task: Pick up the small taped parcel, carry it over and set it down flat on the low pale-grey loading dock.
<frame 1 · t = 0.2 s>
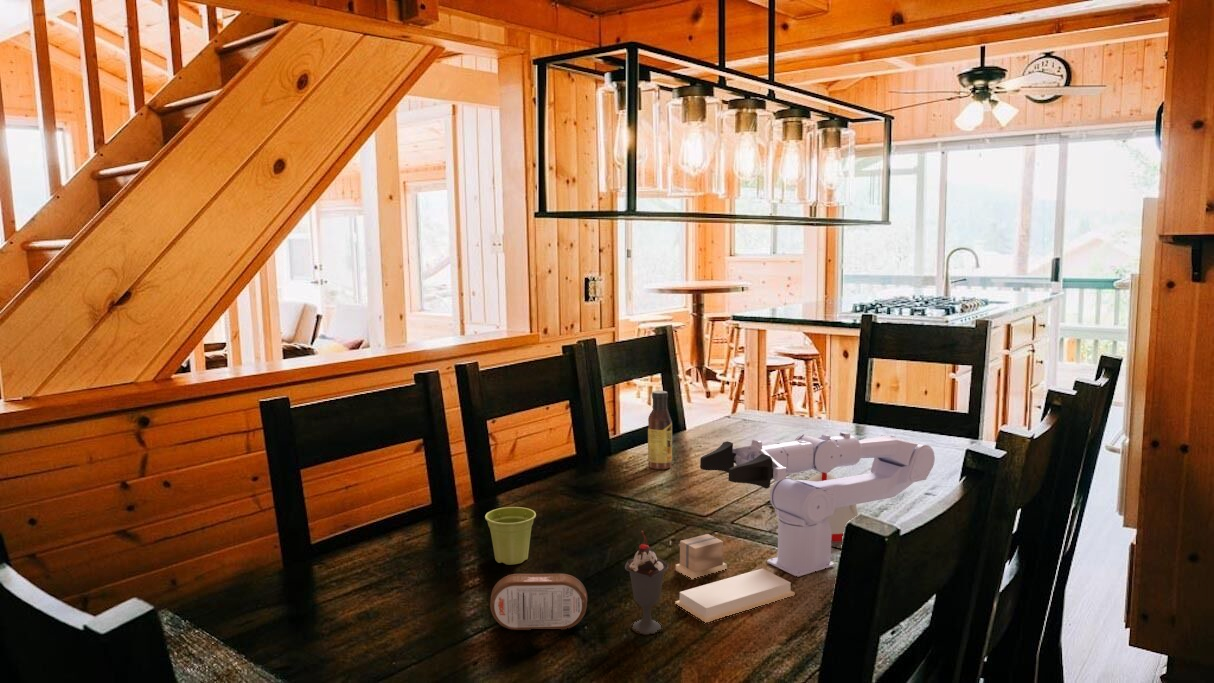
hand: (715, 469, 140), 21 cm above the table, tool horizontal, fingers open, 7 cm apart
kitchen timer: (822, 530, 171), on the table
tin: (539, 628, 129), on the table
taped parcel: (701, 570, 151), on the table
sundae: (646, 628, 129), on the table
sauce bottle: (659, 467, 216), on the table
dock: (735, 600, 138), on the table
plant pot: (511, 560, 156), on the table
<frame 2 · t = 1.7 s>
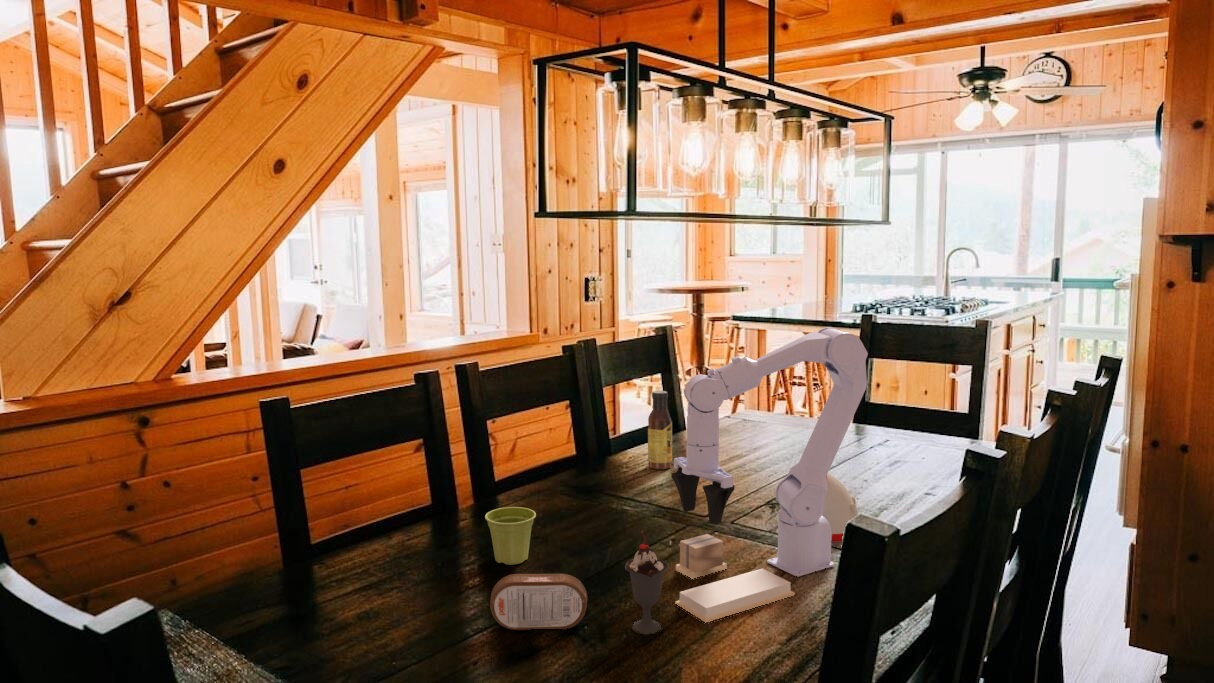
hand: (701, 516, 149), 10 cm above the table, tool pointing down, fingers open, 7 cm apart
nothing on the table moved.
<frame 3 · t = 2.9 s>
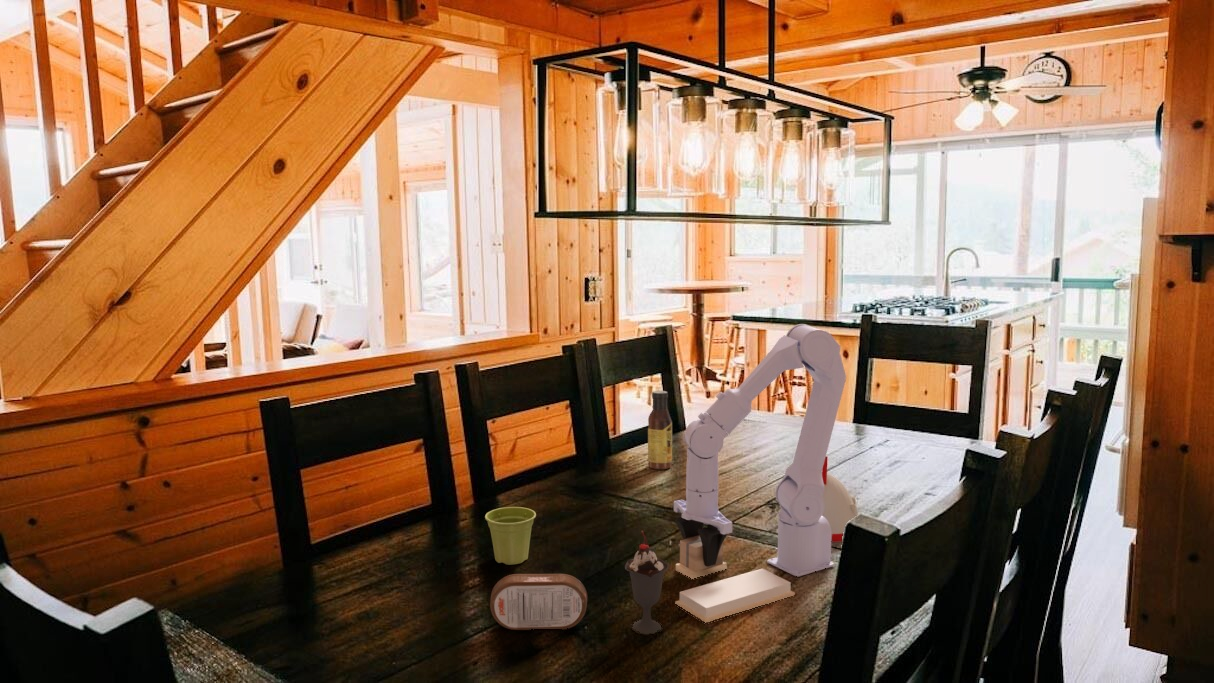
hand: (701, 560, 151), 2 cm above the table, tool pointing down, fingers closed on taped parcel, 4 cm apart
taped parcel: (701, 569, 151), on the table, touching gripper
everything else where it was.
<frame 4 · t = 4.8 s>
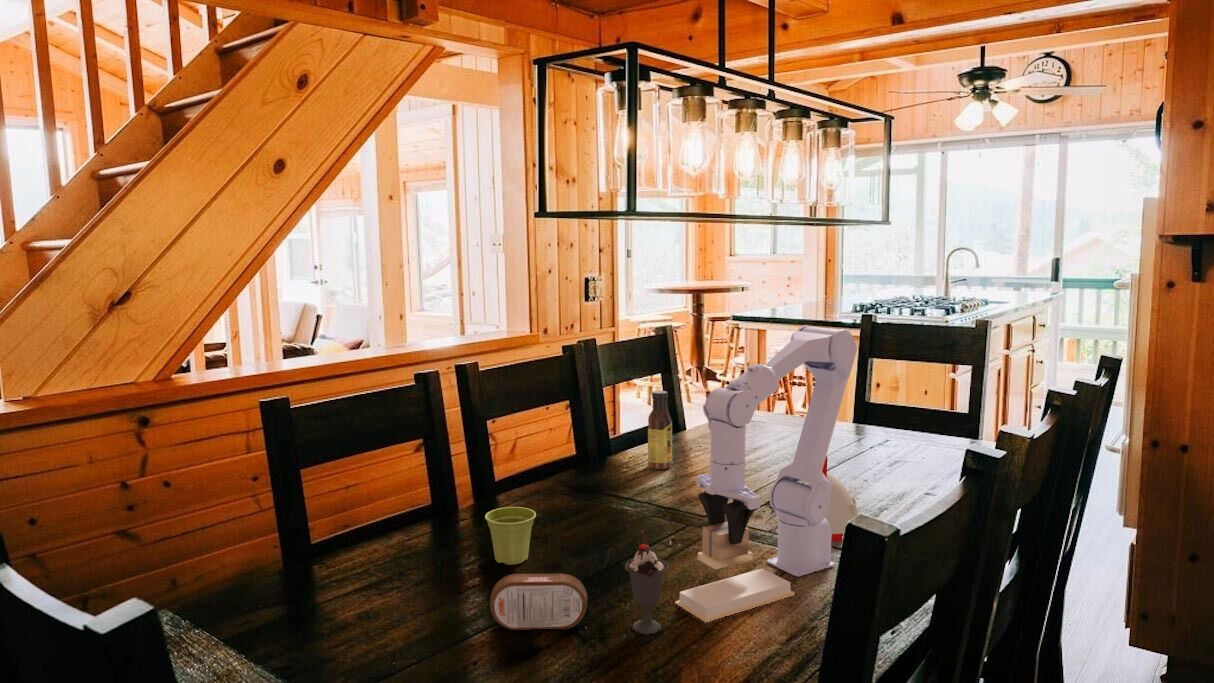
hand: (726, 538, 140), 9 cm above the table, tool pointing down, fingers closed on taped parcel, 4 cm apart
taped parcel: (725, 559, 141), point 6 cm above the table, touching gripper
everything else where it was.
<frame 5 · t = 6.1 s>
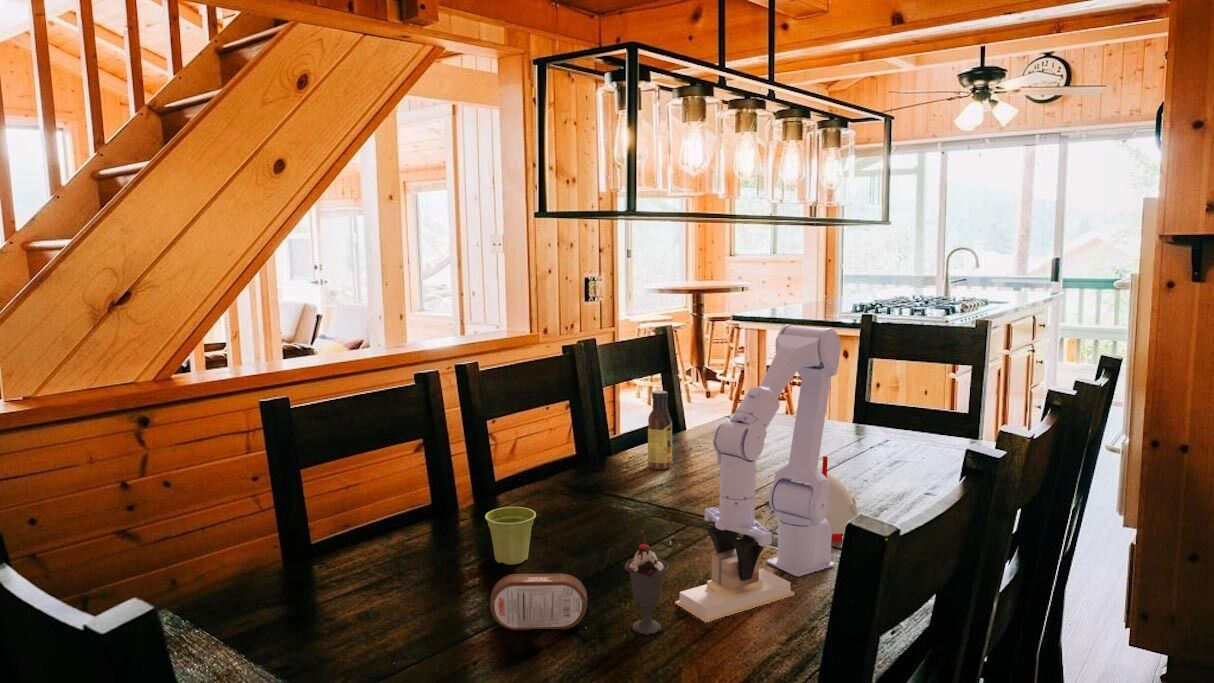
hand: (735, 573, 138), 5 cm above the table, tool pointing down, fingers closed on taped parcel, 4 cm apart
taped parcel: (734, 587, 138), point 2 cm above the table, touching dock, gripper
everything else where it was.
when the fingers open (5 cm above the table, at t = 6.4 s): taped parcel stays where it is, resting on dock.
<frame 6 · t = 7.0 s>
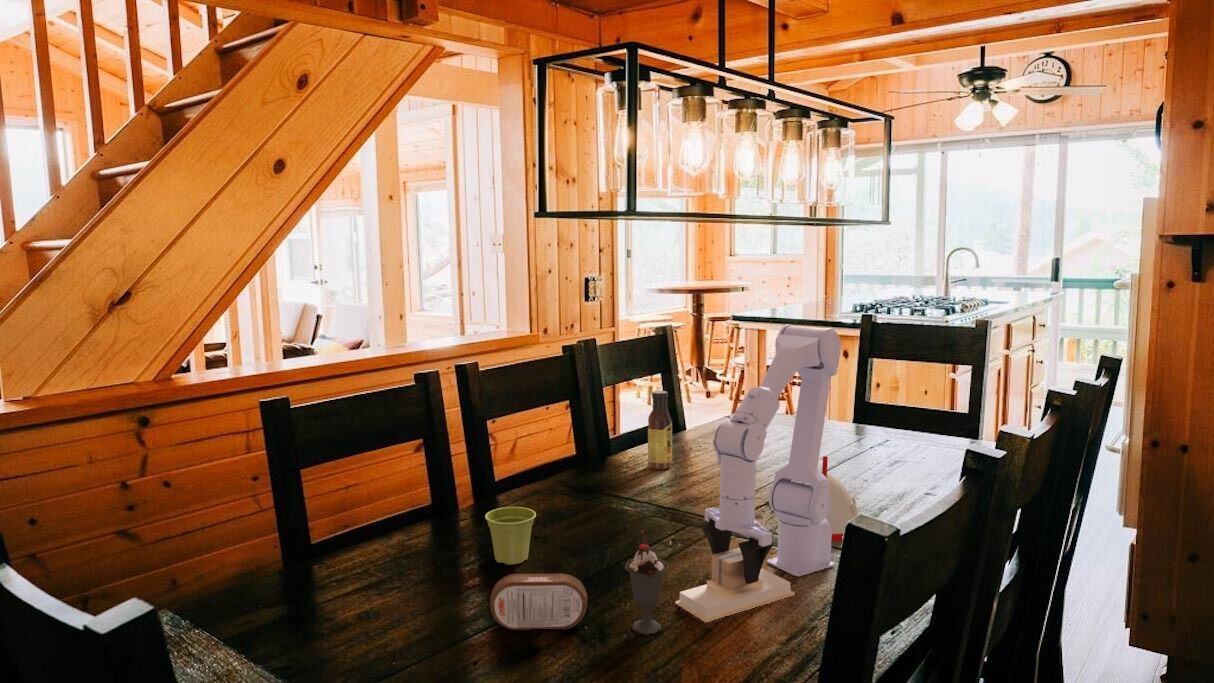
hand: (736, 573, 138), 5 cm above the table, tool pointing down, fingers open, 7 cm apart
taped parcel: (734, 587, 138), point 2 cm above the table, touching dock
everything else where it was.
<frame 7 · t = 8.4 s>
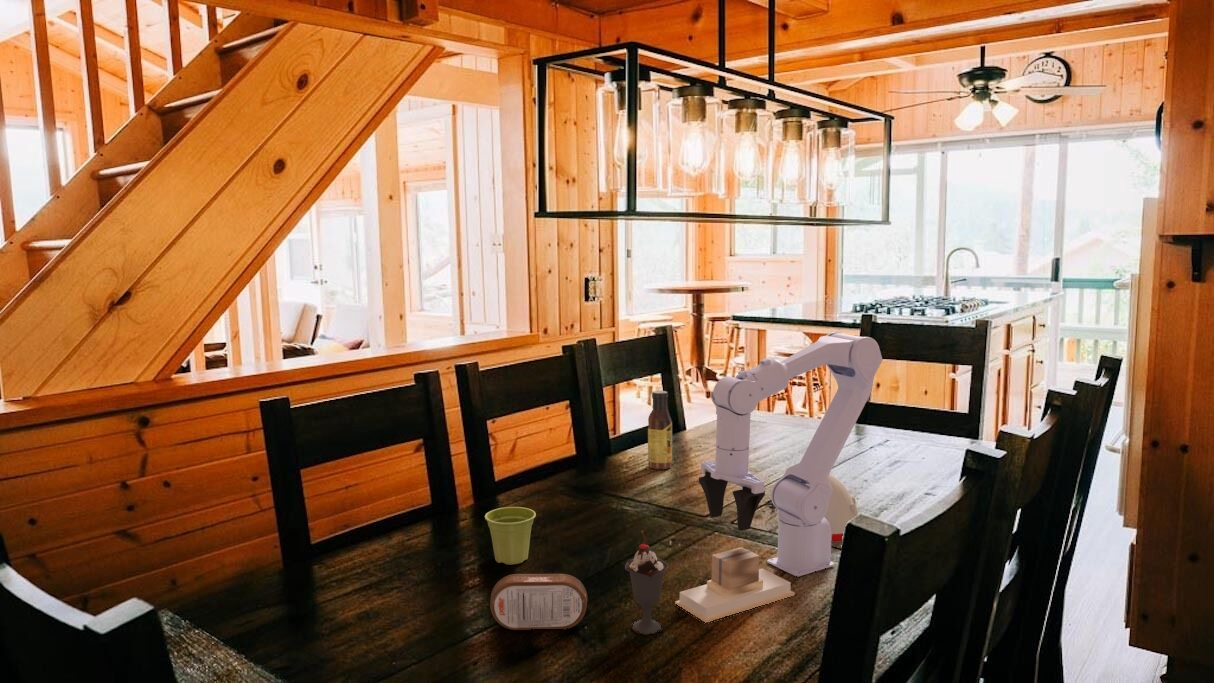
hand: (729, 522, 145), 10 cm above the table, tool pointing down, fingers open, 7 cm apart
nothing on the table moved.
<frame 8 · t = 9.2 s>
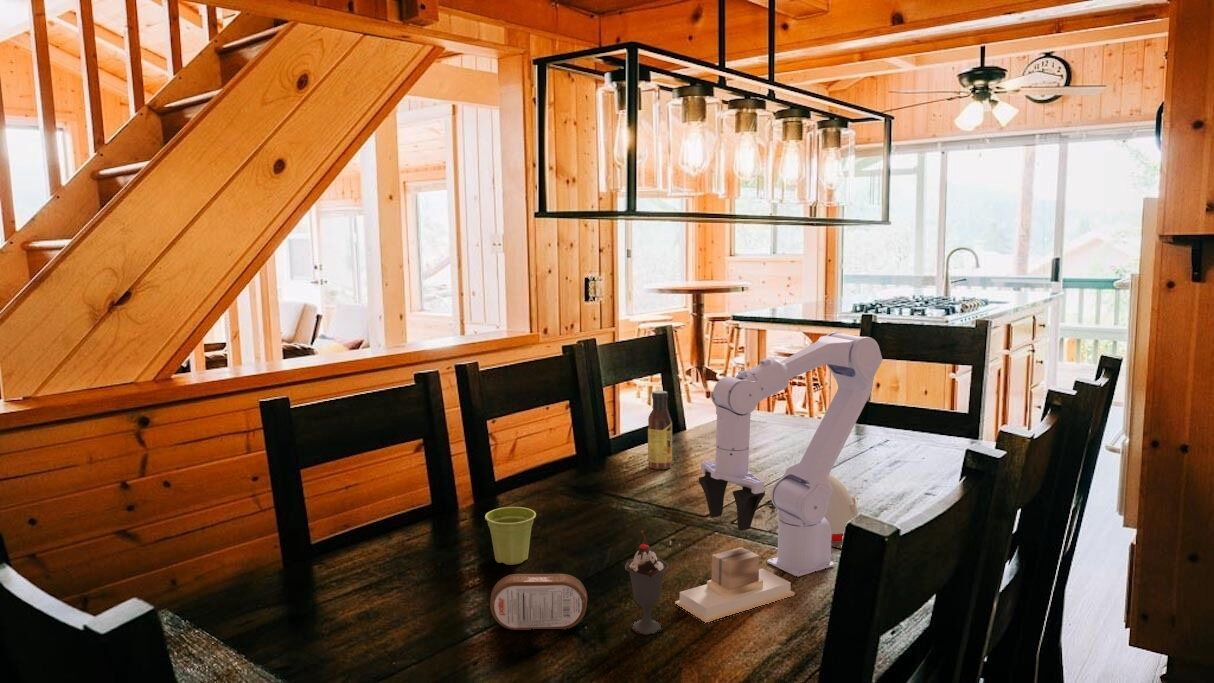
hand: (729, 522, 145), 10 cm above the table, tool pointing down, fingers open, 7 cm apart
nothing on the table moved.
at the end: taped parcel inside the target area on the dock (0.2 cm from its centre), point 2.3 cm above the dock's base; taped parcel tilted 0°; the gripper is holding nothing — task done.
